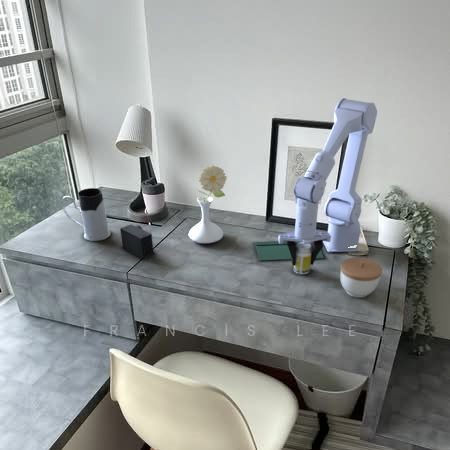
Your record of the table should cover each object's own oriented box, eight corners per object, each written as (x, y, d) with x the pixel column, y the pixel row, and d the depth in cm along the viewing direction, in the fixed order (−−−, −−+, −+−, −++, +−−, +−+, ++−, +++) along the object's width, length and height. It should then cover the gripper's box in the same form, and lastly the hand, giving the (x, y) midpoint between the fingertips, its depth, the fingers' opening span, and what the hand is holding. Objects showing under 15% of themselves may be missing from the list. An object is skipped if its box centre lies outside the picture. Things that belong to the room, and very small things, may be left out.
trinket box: (332, 281, 137) (336, 252, 132) (369, 279, 138) (375, 250, 132) (343, 303, 128) (348, 273, 123) (383, 301, 129) (389, 271, 124)
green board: (316, 241, 157) (316, 239, 157) (324, 258, 148) (324, 256, 148) (255, 243, 157) (255, 241, 156) (259, 261, 147) (259, 259, 147)
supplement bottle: (311, 267, 144) (313, 242, 139) (308, 275, 140) (310, 250, 135) (295, 265, 145) (297, 240, 140) (291, 273, 141) (293, 247, 136)
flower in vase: (183, 243, 157) (178, 168, 143) (197, 228, 166) (194, 156, 152) (220, 250, 153) (219, 173, 139) (233, 235, 162) (233, 161, 147)
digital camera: (157, 252, 152) (155, 232, 148) (143, 258, 149) (141, 238, 145) (136, 242, 158) (133, 222, 154) (122, 247, 155) (120, 228, 151)
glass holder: (107, 240, 159) (100, 197, 150) (64, 240, 159) (54, 197, 151) (113, 229, 166) (106, 187, 158) (71, 229, 166) (63, 187, 158)
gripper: (282, 228, 130) (279, 271, 137) (335, 226, 130) (330, 269, 138) (278, 216, 135) (275, 259, 143) (329, 215, 136) (324, 257, 144)
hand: (302, 263), depth 141 cm, fingers closed on supplement bottle, 5 cm apart
